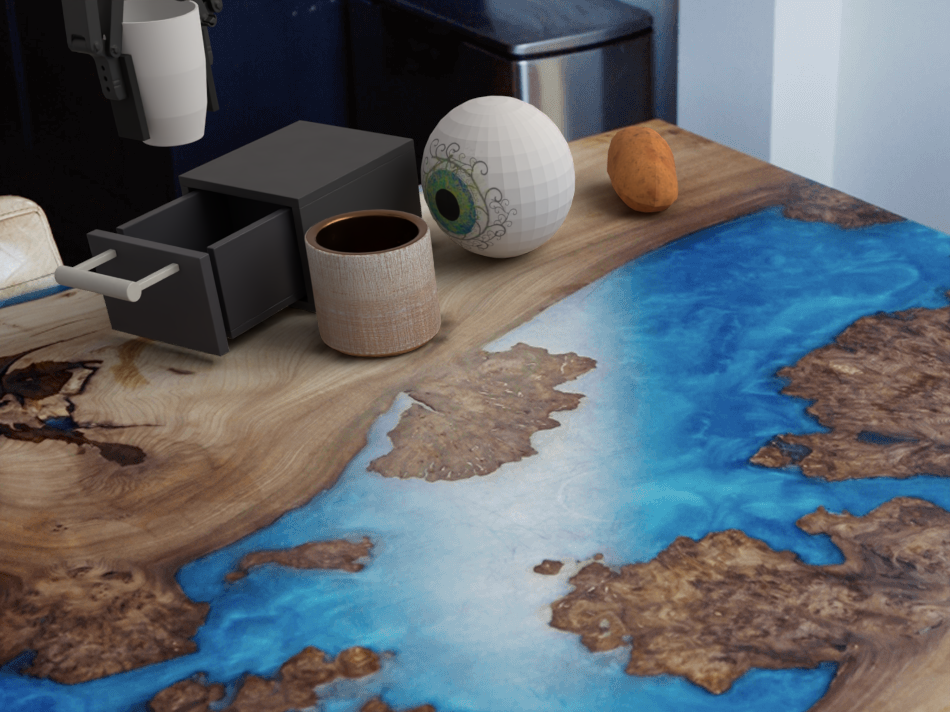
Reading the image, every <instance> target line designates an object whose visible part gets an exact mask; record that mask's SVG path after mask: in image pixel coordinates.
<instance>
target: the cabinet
mask: <svg viewBox="0 0 950 712" xmlns="http://www.w3.org/2000/svg"><path fill="white" fill-rule="evenodd" d="M417 169H418V168H417V160H416V151H415V143H414V138H409V137H402V136H397V135H390V134H384V133H380V132H373V131H368V130H361V129H355V128H349V127H344V126H336V125H331V124H326V123H319V122H314V121H313V122H312V121H307V120H300V119H299V120H298V121H295V122H293V123H291V124H289V125H287V126H284V127H282V128H279V129H277V130H276V131H273V132H271V133H269V134H267V135H264V136H263V137H260V138H258V139H256V140H254V141H251V142H250V143H247V144H245V145H243V146H240V147H238V148H236V149H234V150H232V151H230V152H228V153H225V154H223V155H220V156H219V157H217V158H215V159H212V160H210V161H208V162H205V163H204V164H201V165H200V166H196V167H195V168H193V169H190V170H188V171H186V172H184V173H181V174H179V175H178V181H179V186H180V190H181V195H182V196H184V195H186V194H188V193H190V192H192V191H195V190H197V189H202V190H207V191H212V192H217V193H222V194H227V195H232V196H238V197H243V198H248V199H253V200H258V201H263V202H268V203H273V204H278V205H284V206H289V207H292V211H293V217H294V223H295V229H296V234H297V240H298V246H299V252H300V258H301V263H302V269H303V275H304V281H305V286H306V292H307V295H306V296H304V297H302V298H301V299H299V300H297V301H296V302H294V303H292V304H291V305H289V306H288V307H290V308H294V309H297V310H303V311H307V312H311V313H315V314H316V308H315V302H314V295H313V288H312V282H311V275H310V269H309V263H308V257H307V251H306V245H305V234H306V232H307V231H308V229H309V228H311V227H312V226H313V225H315V224H316V223H318V222H320V221H322V220H324V219H326V218H329V217H332V216H335V215H339V214H343V213H347V212H353V211H360V210H374V209H383V210H396V211H402V212H407V213H411V214H414V215H416V216H419V217H420V218H422V219H423V212H422V203H421V195H420V187H419V178H418V177H419V176H418V170H417Z"/></svg>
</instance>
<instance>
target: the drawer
mask: <svg viewBox="0 0 950 712" xmlns="http://www.w3.org/2000/svg"><path fill="white" fill-rule="evenodd" d="M115 230H116V233H114V232H111V231H106V230H101V229H94V230H92V231H90V232H88V233H86V238H87V241H88V245H89V249H90V253H91V256H92V257H91V258H89V259H87V260H85V261H83V262H81V263H78V264H77V265H75V266H73V267H72V266H69V265H63V264H61V265H59V266H57V267H56V268H55V270H54V274H53V275H54V276H53V277H54V280H55V282H56V283H57V284H58V285H60V286H64V287H69V288H72V289H77V290H81V291H85V292H90V293H94V294H97V295H101V296H102V299H103V301H104V305H105V308H106V313H107V316H108V321H109V324H110V327H111V330H113V331H117V332H122V333H125V334H128V335H133V336H137V337H140V338H145V339H149V340H152V341H157V342H161V343H165V344H169V345H172V346H177V347H181V348H185V349H189V350H193V351H197V352H201V353H205V354H208V355H213V356H218V357H222V356H224V355H226V354H228V353H230V347H229V341H228V339H230V340H233V339H235V338H237V337H239V336H240V335H242V334H244V333H245V332H247V331H250V329H253V328H254V327H256V326H257V325H259V324H260V323H262V322H264V321H266V320H268V319H269V318H270V317H273V316H274V315H275V314H278V313H279V312H281V311H282V310H284V309H286V308H287V307H289V305H291V304H292V303H294V302H296V301H297V300H299V299H301V298H302V297H304V296H306V295H307V292H306V286H305V281H304V275H303V269H302V263H301V258H300V252H299V246H298V240H297V234H296V229H295V223H294V217H293V211H292V207H289V206H284V205H278V204H273V203H268V202H263V201H258V200H253V199H248V198H243V197H238V196H232V195H227V194H222V193H217V192H212V191H207V190H202V189H197V190H195V191H192V192H190V193H188V194H186V195H184V196H183V195H182V196H179V197H178V198H176V199H173V200H172V201H170V202H167V203H165V204H163V205H161V206H159V207H157V208H155V209H153V210H150V211H147V212H146V213H144V214H141V215H140V216H138V217H136V218H133V219H131V220H129V221H127V222H125V223H123V224H120V225H119V226H117V227H116V228H115ZM94 268H95V271H96V272H94V271H90V270H92V269H94Z"/></svg>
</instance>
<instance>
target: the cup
mask: <svg viewBox="0 0 950 712" xmlns="http://www.w3.org/2000/svg"><path fill="white" fill-rule="evenodd" d="M122 25H123V32H122V52H121V54H130V55H131V56H132V60H133V64H134V69H135V73H136V77H137V82H138V86H139V91H140V95H141V99H142V104H143V108H144V112H145V117H146V121H147V125H148V130H149V134H150V139H148V140H146V141H142V142H143V143H144V144H146V145H149V146H153V147H177V146H183V145H188V144H191V143H194V142H197V141H199V140H200V139H202V138H203V137H204V135H205V128H206V127H205V126H206V117H207V111H206V109H207V87H206V59H205V52H204V45H203V38H202V30H201V23H200V16H199V8H198V4H197V3H195V2H194V1H191V0H190V1H189V0H186V1H176V0H124V10H123V23H122ZM103 39H104V40H106V37H105V35H104V36H103Z"/></svg>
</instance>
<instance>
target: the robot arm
mask: <svg viewBox="0 0 950 712" xmlns="http://www.w3.org/2000/svg"><path fill="white" fill-rule="evenodd" d="M176 1H186V0H176ZM189 1H190V0H189ZM191 1H194V2H195V3H197V4H198V8H199V16H200V23H201V30H202V38H203V45H204V52H205V59H206V87H207V109H206V112H213V113H214V112H217V111H219V110H220V106H219V101H218V95H217V90H216V86H215V85H216V84H215V81H214V75H213V70H212V65H214V55H213V50H212V45H211V40H210V35H209V30H208V29H209V28H214V27H215V26H216V25H217V23H218V17H217V15H216V14H215V13H221V12H222V11H223V6H224V5H223V0H191ZM61 6H62V13H63V20H64V29H65V35H66V43H67V47H68V49H69V50H70V51H71V52H74V53H75V52H77V53H81V54H87V55H90V56H91V57H92V58H93V60H94V63H95V67H96V71H97V75H98V79H99V82H100V87H101V91H102V94H103V96H104V97H105V99H106V100H107V99H108V100H109V101H110V105H111V109H112V114H113V118H114V122H115V126H116V130H117V135H118V137H119V138H123V139H129V140H136V141H139V142H140V141H141V142H143V141H146V140H148V139H150V134H149V130H148V125H147V121H146V117H145V112H144V108H143V104H142V99H141V95H140V91H139V86H138V82H137V77H136V73H135V69H134V64H133V60H132V56H131V55H130V54H121V52H122V32H123V25H122V23H123V10H124V0H61ZM104 35H105V37H106V40H104V39H103V36H104Z"/></svg>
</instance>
